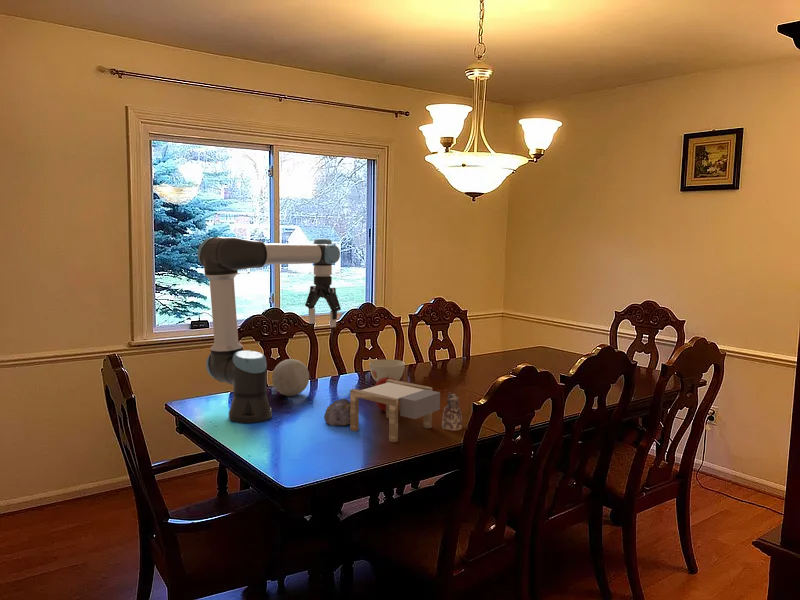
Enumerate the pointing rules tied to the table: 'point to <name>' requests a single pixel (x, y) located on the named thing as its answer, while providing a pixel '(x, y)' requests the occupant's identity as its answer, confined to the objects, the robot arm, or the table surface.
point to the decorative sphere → (290, 377)
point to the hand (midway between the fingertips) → (322, 325)
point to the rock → (338, 413)
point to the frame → (390, 408)
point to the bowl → (386, 369)
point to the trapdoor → (410, 399)
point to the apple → (379, 382)
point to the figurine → (452, 414)
